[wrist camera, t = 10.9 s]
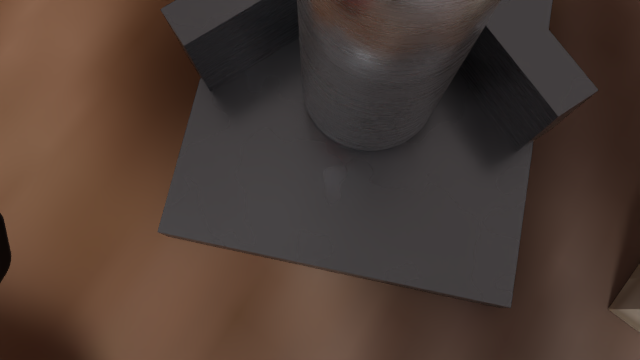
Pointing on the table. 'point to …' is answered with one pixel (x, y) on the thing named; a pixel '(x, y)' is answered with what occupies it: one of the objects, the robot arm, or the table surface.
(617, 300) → the block with rectangular hole
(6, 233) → the robot arm
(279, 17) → the V-block
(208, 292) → the table surface
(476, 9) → the axle
